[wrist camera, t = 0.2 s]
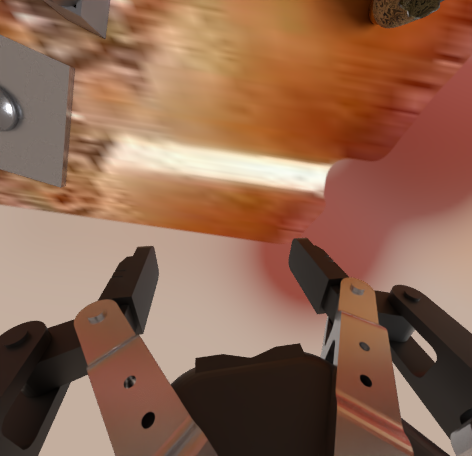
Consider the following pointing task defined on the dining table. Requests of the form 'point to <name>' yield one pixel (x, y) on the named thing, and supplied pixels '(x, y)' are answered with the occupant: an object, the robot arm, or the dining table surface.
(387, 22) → the cup
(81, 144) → the dining table surface
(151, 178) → the dining table surface
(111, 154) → the dining table surface
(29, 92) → the base plate
